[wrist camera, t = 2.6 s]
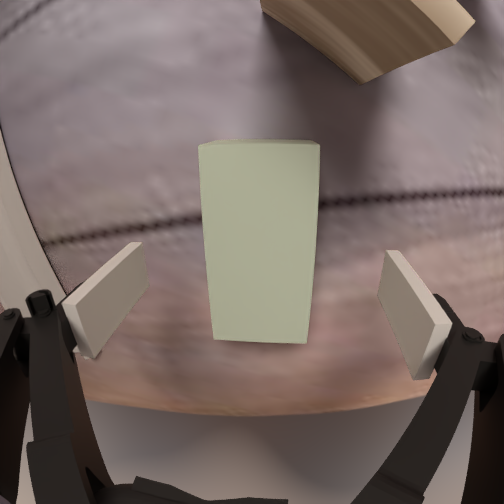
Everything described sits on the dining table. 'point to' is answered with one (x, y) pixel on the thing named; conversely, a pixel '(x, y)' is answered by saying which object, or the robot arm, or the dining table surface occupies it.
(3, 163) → the crown molding
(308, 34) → the frame
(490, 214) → the dining table surface
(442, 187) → the dining table surface
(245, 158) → the pale green block
